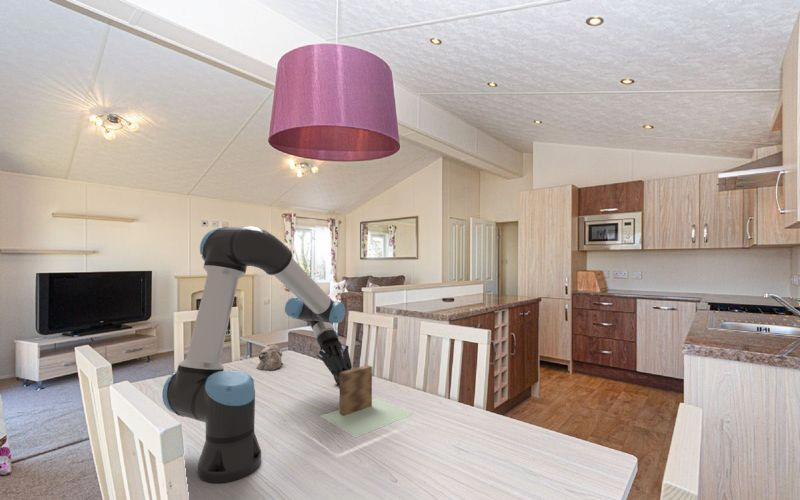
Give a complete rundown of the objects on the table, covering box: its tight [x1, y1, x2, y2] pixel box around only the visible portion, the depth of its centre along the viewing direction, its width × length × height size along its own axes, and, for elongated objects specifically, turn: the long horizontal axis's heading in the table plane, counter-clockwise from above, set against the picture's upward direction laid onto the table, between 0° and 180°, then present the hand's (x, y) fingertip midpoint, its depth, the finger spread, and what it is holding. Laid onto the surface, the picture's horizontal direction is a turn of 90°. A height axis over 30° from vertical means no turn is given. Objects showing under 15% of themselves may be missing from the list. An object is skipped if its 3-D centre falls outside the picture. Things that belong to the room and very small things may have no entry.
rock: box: [256, 344, 284, 371], centre depth 186 cm, size 15×12×10 cm
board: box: [338, 364, 373, 416], centre depth 134 cm, size 12×2×14 cm, turn 133°
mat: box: [319, 397, 414, 438], centre depth 130 cm, size 24×20×1 cm
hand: (351, 389), depth 136 cm, fingers closed
